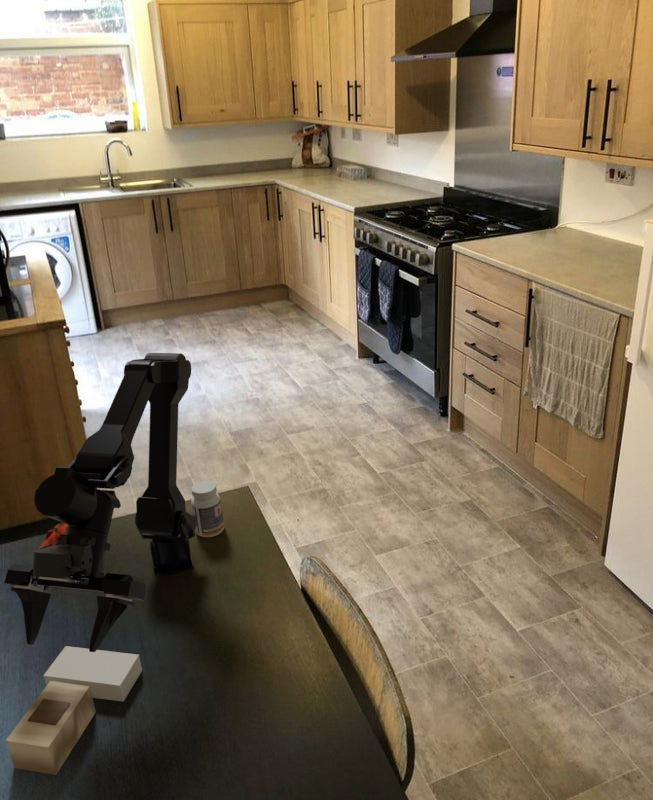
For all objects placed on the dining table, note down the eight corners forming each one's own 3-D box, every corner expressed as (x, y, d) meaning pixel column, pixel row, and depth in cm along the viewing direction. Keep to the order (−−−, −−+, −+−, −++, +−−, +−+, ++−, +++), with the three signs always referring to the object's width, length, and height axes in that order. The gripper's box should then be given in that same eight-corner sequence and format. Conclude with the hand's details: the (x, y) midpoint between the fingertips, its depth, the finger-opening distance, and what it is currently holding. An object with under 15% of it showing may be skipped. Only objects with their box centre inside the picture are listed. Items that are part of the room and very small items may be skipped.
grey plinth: (69, 661, 107) (65, 646, 106) (142, 670, 104) (139, 654, 103) (47, 691, 101) (43, 675, 100) (123, 701, 99) (120, 685, 98)
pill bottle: (229, 524, 140) (224, 481, 136) (216, 540, 135) (210, 496, 131) (203, 520, 141) (197, 477, 137) (190, 536, 136) (183, 492, 133)
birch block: (50, 680, 97) (5, 739, 88) (89, 685, 95) (48, 746, 86) (57, 707, 99) (14, 769, 90) (96, 713, 97) (56, 776, 89)
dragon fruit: (111, 558, 134) (48, 585, 130) (97, 520, 137) (35, 545, 133) (104, 543, 126) (36, 571, 123) (89, 503, 130) (23, 529, 126)
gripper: (-5, 515, 94) (-40, 637, 88) (122, 525, 90) (95, 653, 84) (40, 531, 104) (12, 642, 98) (157, 541, 100) (134, 656, 94)
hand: (60, 648), depth 94 cm, fingers open, 9 cm apart
